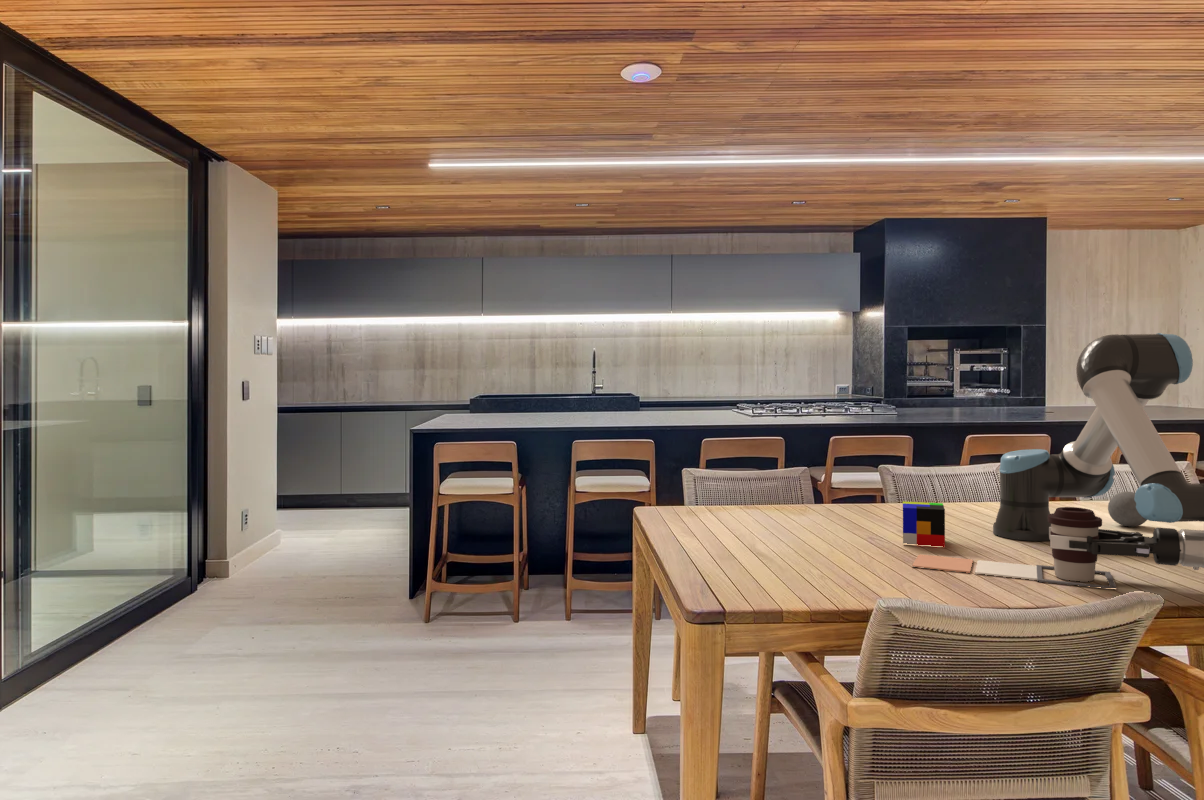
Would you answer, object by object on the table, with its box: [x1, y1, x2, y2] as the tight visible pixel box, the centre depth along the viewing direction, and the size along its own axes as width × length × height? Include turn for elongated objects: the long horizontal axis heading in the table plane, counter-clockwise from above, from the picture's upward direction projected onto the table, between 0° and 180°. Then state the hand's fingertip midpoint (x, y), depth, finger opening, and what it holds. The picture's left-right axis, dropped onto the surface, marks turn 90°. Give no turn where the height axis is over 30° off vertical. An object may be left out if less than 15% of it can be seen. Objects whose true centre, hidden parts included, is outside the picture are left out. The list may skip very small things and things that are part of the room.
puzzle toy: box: [902, 501, 946, 548], centre depth 196 cm, size 10×10×10 cm
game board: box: [912, 554, 1118, 589], centre depth 167 cm, size 39×14×1 cm, turn 60°
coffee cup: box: [1048, 506, 1103, 583], centre depth 160 cm, size 10×10×15 cm
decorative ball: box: [1107, 491, 1148, 528], centre depth 212 cm, size 10×10×10 cm
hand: (1049, 537), depth 162 cm, fingers closed on coffee cup, 9 cm apart
